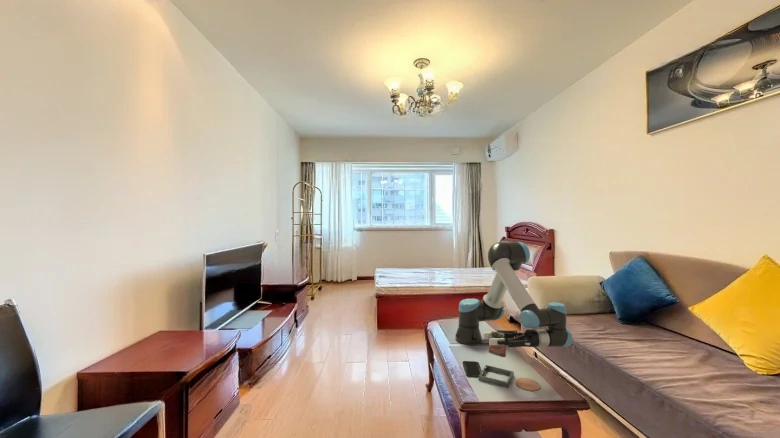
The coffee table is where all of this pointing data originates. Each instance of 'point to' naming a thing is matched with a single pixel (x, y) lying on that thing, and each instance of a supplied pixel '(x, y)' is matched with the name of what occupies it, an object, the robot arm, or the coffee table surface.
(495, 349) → the lighter
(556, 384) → the coffee table surface
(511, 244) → the robot arm
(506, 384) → the holder frame
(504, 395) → the coffee table surface
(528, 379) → the coaster
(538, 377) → the coffee table surface
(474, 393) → the coffee table surface
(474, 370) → the phone
